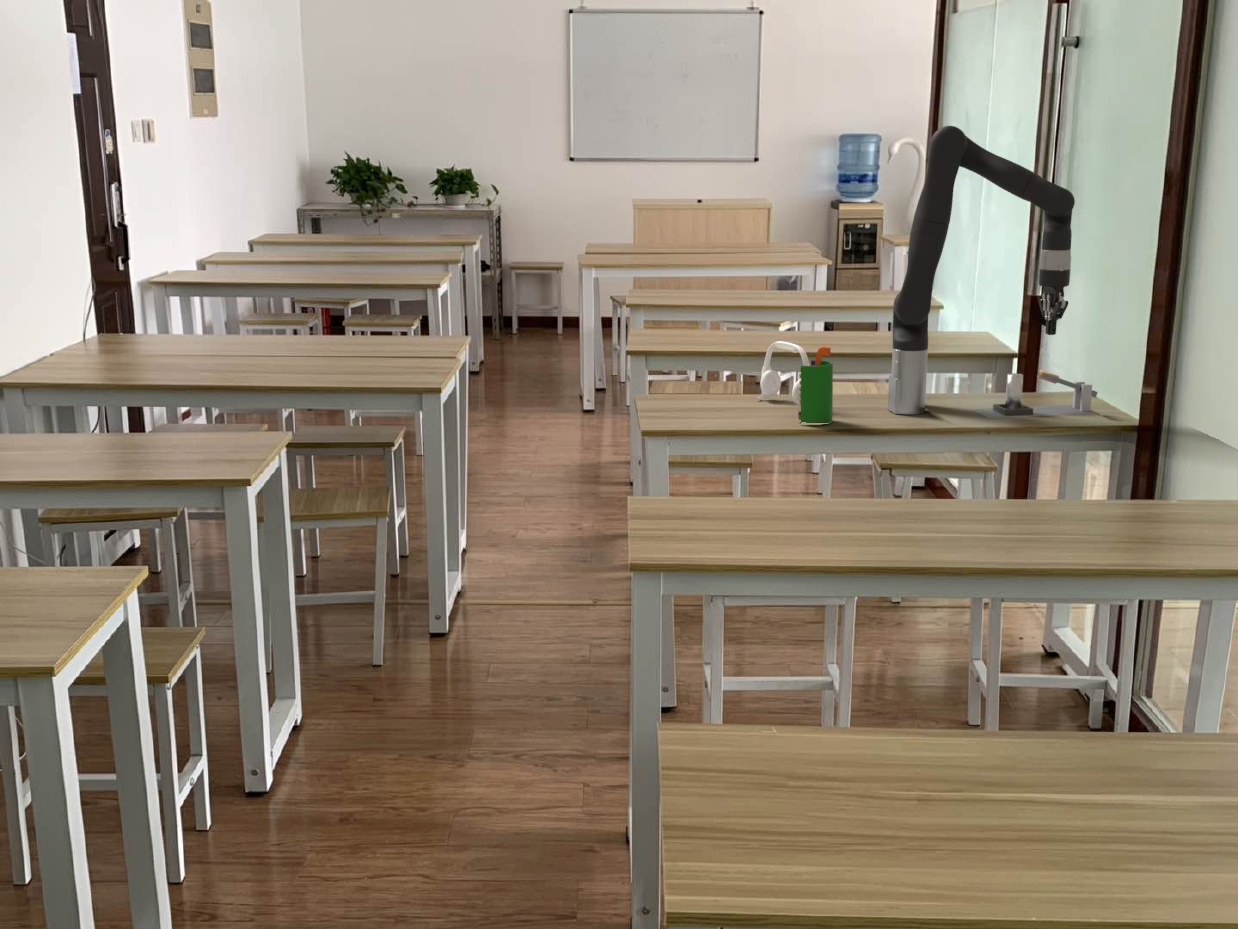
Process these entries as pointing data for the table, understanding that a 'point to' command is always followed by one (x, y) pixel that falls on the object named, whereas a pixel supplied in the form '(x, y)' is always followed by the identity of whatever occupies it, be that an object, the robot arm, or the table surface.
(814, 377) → the green cup with straw
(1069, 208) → the robot arm
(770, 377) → the headset
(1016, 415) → the grey flat base
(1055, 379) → the lever
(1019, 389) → the translucent white cylinder
